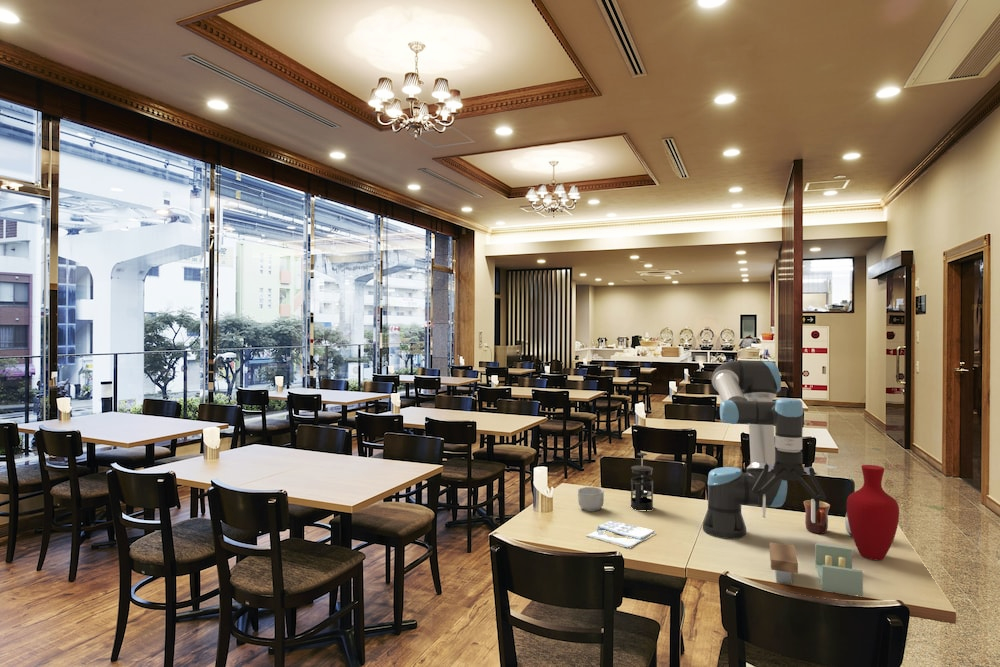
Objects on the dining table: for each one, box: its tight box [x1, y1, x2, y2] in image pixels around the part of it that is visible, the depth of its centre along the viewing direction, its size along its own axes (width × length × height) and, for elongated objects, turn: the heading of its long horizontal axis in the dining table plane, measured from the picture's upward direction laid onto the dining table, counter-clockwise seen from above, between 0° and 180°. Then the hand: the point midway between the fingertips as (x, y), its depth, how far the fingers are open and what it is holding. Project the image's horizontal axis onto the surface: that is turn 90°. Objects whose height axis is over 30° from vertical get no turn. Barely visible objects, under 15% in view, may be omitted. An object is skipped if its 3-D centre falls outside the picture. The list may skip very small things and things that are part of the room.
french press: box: [630, 452, 654, 512], centre depth 246 cm, size 12×9×23 cm
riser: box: [774, 570, 792, 585], centre depth 179 cm, size 4×10×4 cm, turn 157°
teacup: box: [577, 485, 605, 512], centre depth 247 cm, size 14×11×8 cm
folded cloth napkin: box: [585, 520, 655, 549], centre depth 215 cm, size 19×20×2 cm
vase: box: [846, 464, 900, 561], centre depth 195 cm, size 15×15×30 cm
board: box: [769, 542, 799, 574], centre depth 179 cm, size 7×15×3 cm, turn 157°
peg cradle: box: [814, 542, 864, 597], centre depth 177 cm, size 10×20×7 cm, turn 157°
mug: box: [803, 499, 831, 535], centre depth 218 cm, size 12×9×10 cm
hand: (788, 519), depth 180 cm, fingers open, 13 cm apart
